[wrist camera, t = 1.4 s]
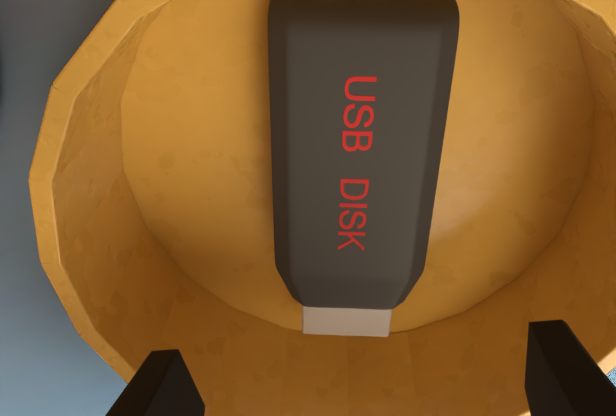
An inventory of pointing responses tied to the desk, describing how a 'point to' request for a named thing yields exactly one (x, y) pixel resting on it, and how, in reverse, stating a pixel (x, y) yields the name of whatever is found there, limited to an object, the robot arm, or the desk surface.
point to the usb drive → (356, 151)
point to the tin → (259, 212)
